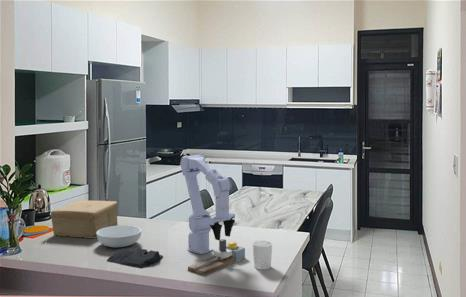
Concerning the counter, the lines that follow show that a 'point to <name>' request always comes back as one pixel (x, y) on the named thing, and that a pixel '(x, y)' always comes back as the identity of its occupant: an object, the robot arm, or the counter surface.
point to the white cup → (262, 254)
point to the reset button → (232, 245)
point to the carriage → (222, 250)
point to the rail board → (210, 265)
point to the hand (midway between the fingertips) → (222, 237)
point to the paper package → (84, 218)
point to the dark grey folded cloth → (135, 257)
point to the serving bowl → (118, 235)
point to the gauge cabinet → (237, 253)
